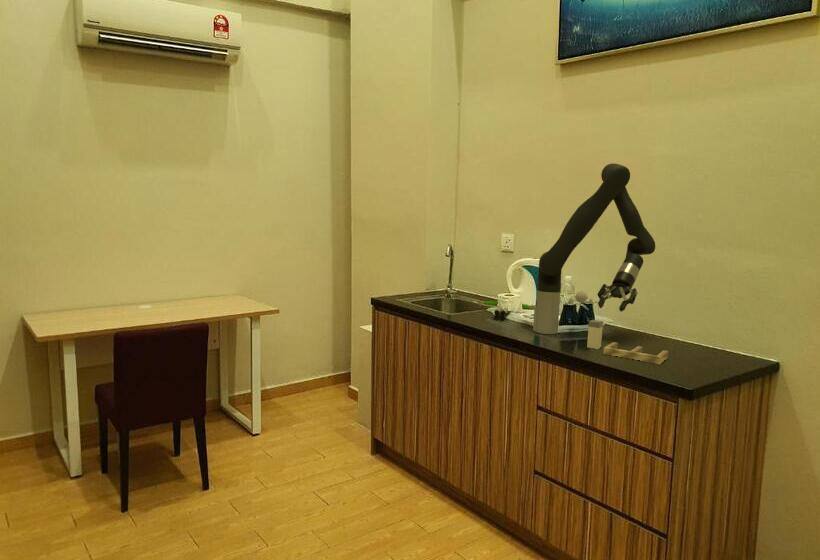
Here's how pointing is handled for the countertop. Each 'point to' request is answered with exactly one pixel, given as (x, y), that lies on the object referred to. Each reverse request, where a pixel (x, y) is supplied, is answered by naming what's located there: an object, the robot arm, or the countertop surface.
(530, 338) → the countertop surface
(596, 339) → the cream lidded container
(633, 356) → the comb rack
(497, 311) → the figurine
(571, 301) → the toy
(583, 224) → the robot arm
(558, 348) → the countertop surface
